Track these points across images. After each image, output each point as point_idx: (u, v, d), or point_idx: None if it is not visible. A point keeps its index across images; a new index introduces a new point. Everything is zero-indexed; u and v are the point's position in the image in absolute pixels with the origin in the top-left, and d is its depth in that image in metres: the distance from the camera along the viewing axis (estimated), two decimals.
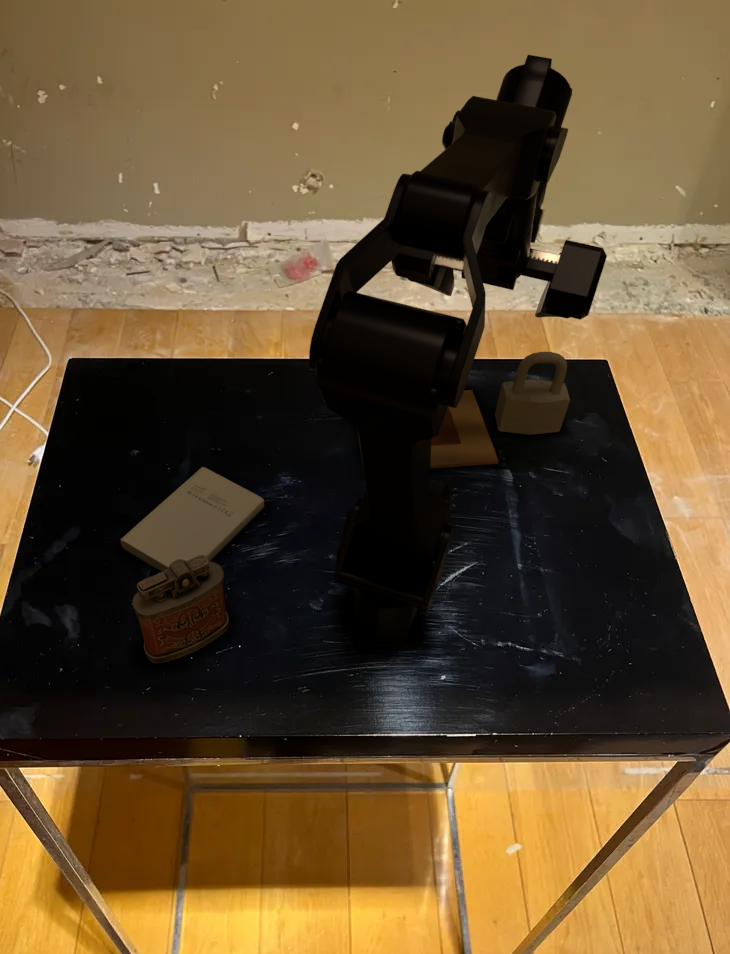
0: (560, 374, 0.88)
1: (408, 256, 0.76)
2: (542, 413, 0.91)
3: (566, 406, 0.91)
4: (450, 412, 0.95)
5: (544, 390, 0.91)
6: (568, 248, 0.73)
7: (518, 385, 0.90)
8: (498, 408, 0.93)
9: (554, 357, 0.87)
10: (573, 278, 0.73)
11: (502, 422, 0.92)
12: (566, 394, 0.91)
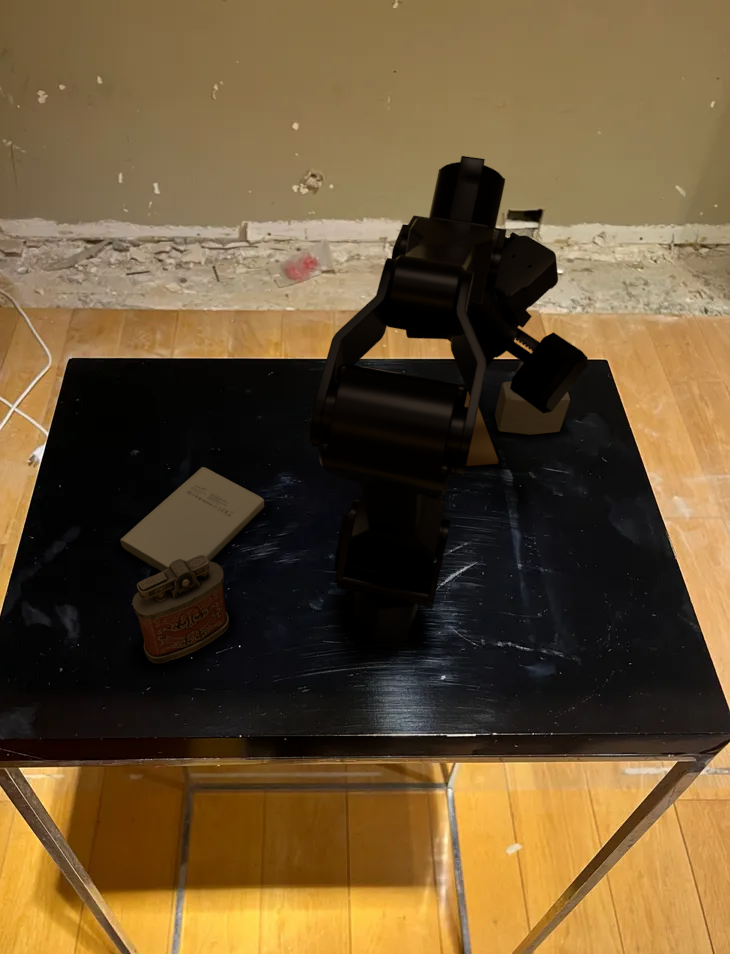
0: None
1: None
2: (542, 413, 0.91)
3: (566, 406, 0.91)
4: None
5: None
6: (545, 343, 0.73)
7: None
8: (498, 408, 0.93)
9: None
10: (536, 374, 0.73)
11: (502, 422, 0.92)
12: (566, 394, 0.91)
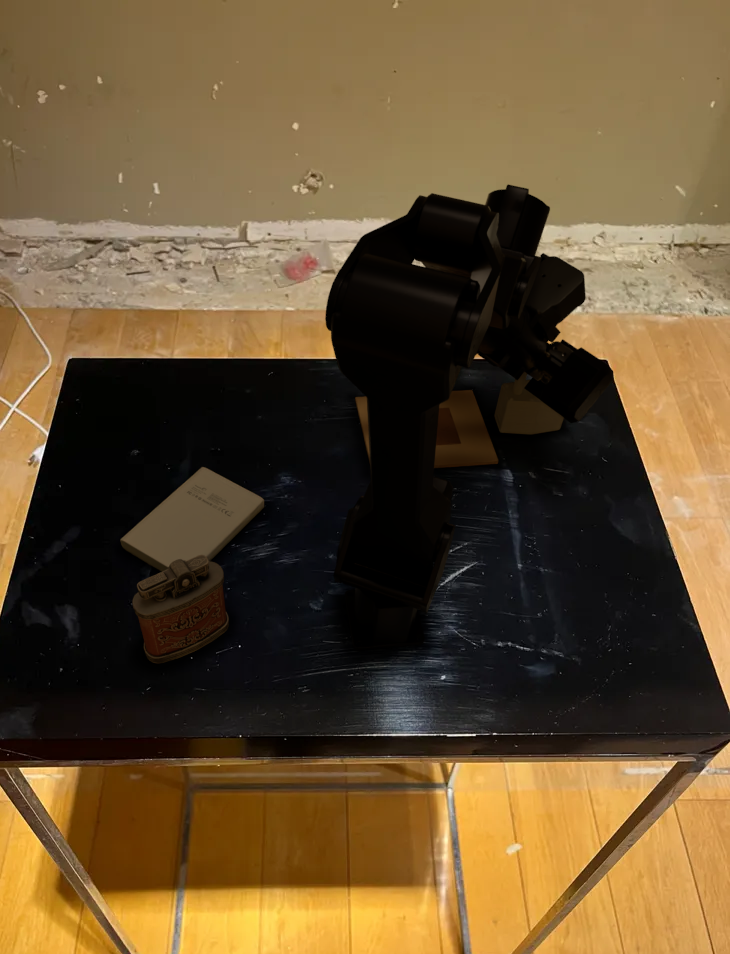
0: None
1: None
2: (544, 413, 0.91)
3: None
4: (450, 412, 0.95)
5: None
6: (573, 357, 0.78)
7: (519, 386, 0.89)
8: (498, 410, 0.93)
9: None
10: (565, 387, 0.78)
11: (504, 423, 0.92)
12: None
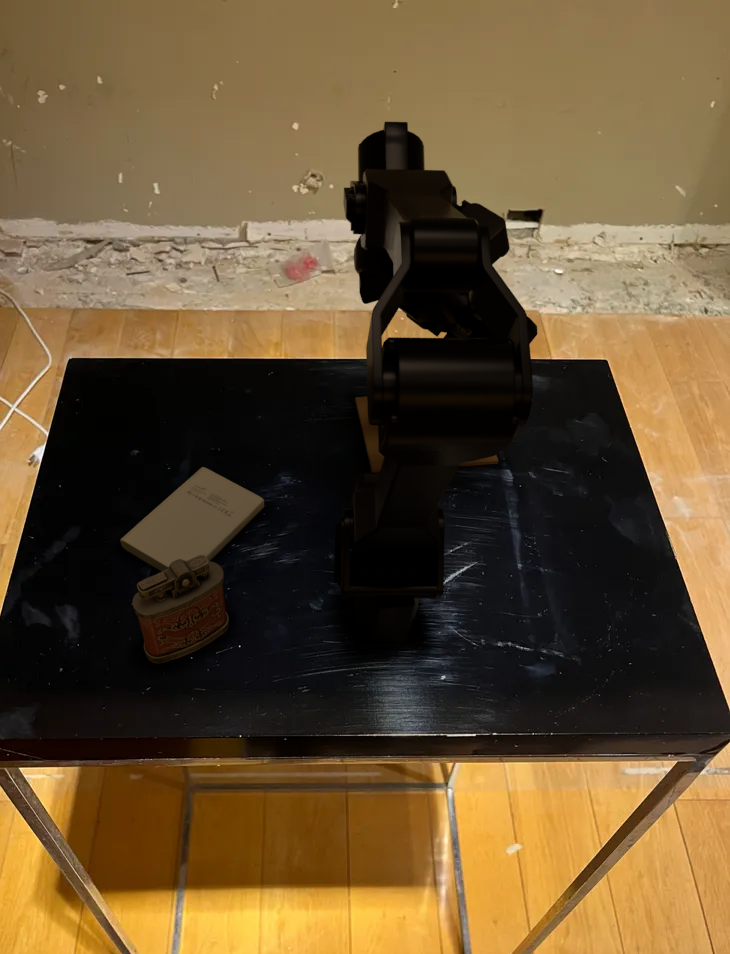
0: None
1: None
2: None
3: None
4: None
5: None
6: None
7: None
8: None
9: None
10: None
11: None
12: None
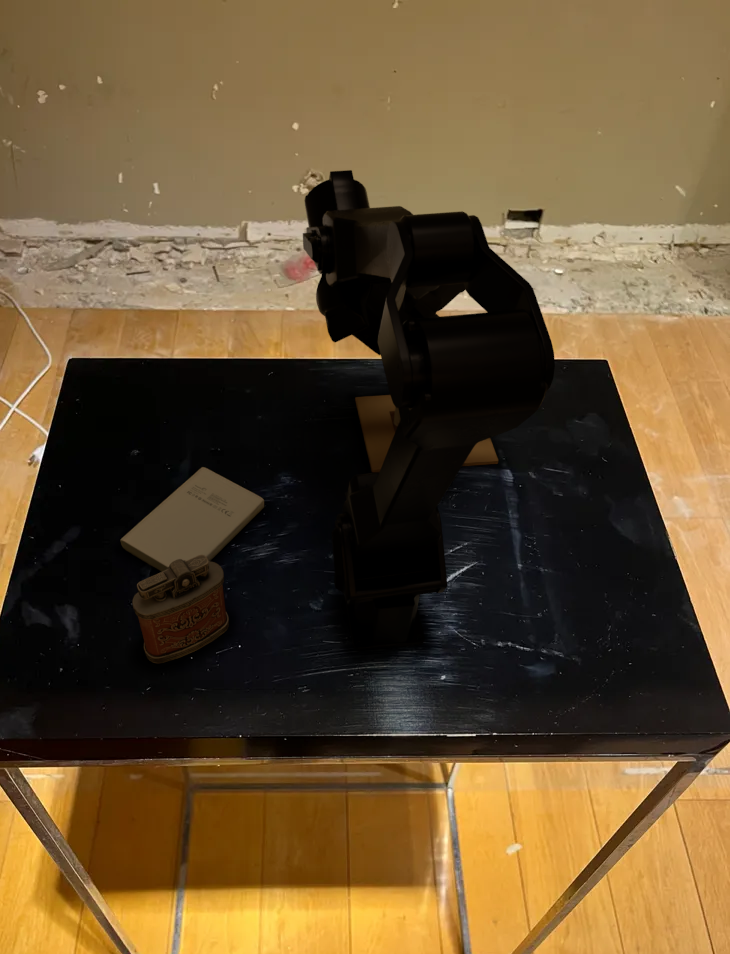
0: None
1: None
2: None
3: None
4: None
5: None
6: None
7: None
8: None
9: None
10: None
11: None
12: None
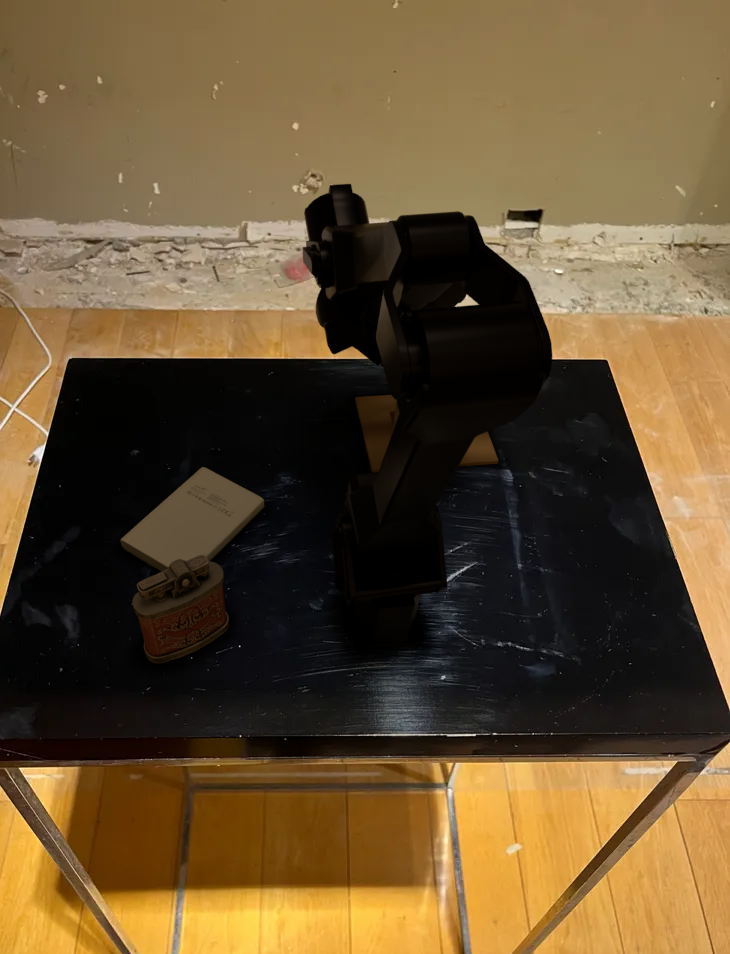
0: None
1: None
2: None
3: None
4: None
5: None
6: None
7: None
8: None
9: None
10: None
11: None
12: None
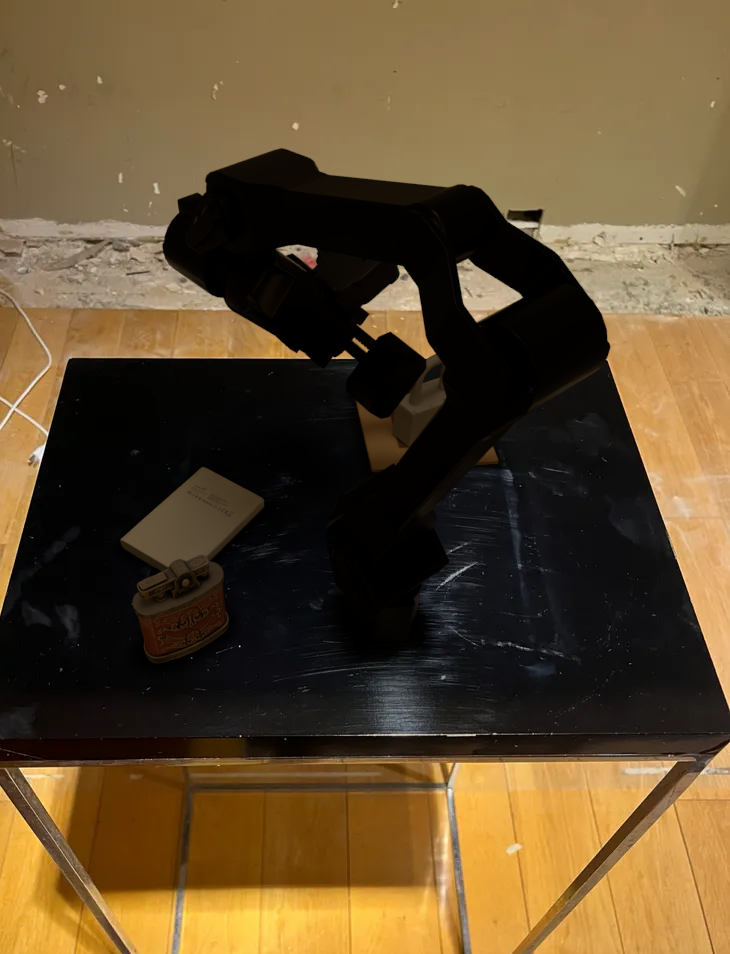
0: None
1: None
2: None
3: None
4: None
5: (434, 391, 0.89)
6: (379, 342, 0.68)
7: (417, 397, 0.87)
8: (399, 426, 0.90)
9: None
10: (369, 377, 0.68)
11: (411, 437, 0.89)
12: None
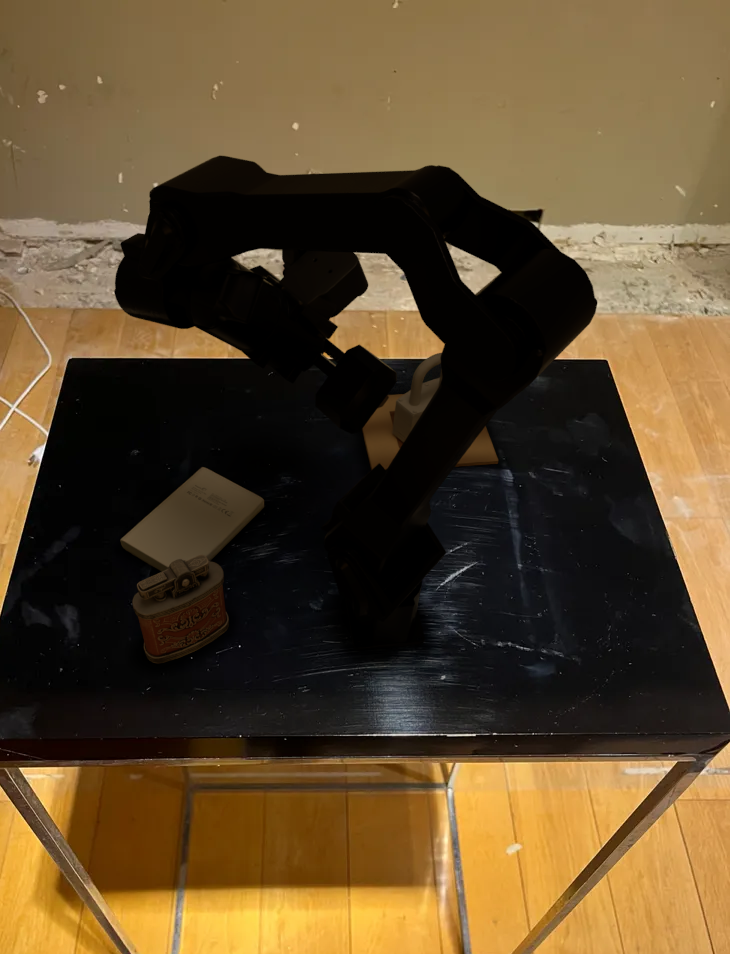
0: None
1: None
2: None
3: None
4: None
5: (434, 391, 0.89)
6: (348, 356, 0.66)
7: (417, 397, 0.87)
8: (399, 426, 0.90)
9: None
10: (338, 391, 0.66)
11: None
12: None
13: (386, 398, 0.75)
